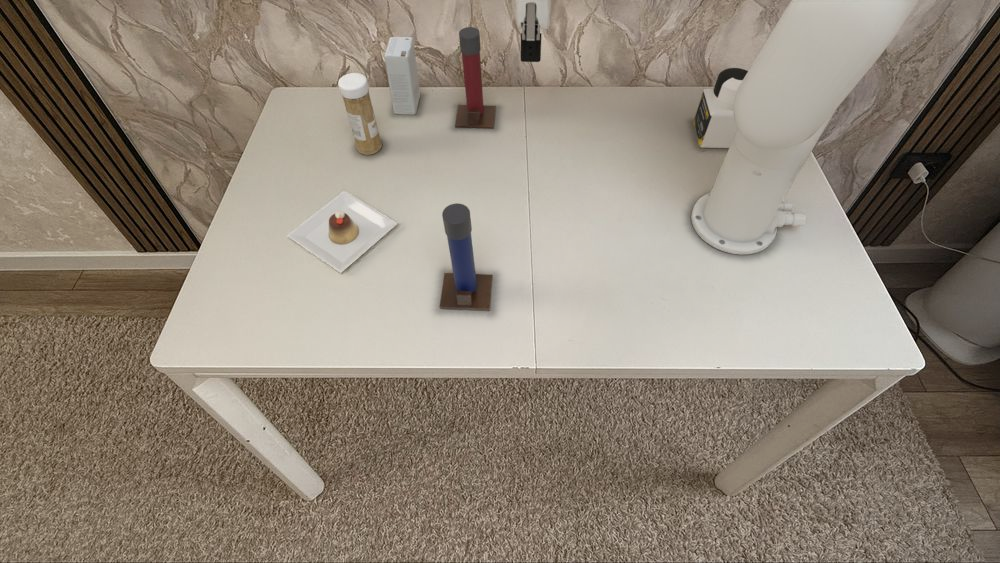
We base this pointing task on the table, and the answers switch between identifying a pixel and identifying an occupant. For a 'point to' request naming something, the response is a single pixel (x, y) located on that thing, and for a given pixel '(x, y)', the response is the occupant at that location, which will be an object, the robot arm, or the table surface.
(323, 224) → the dessert
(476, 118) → the stand far
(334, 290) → the table surface
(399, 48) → the cosmetic box
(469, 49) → the marker far
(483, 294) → the stand near
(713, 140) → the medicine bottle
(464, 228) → the marker
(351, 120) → the sprinkles bottle
